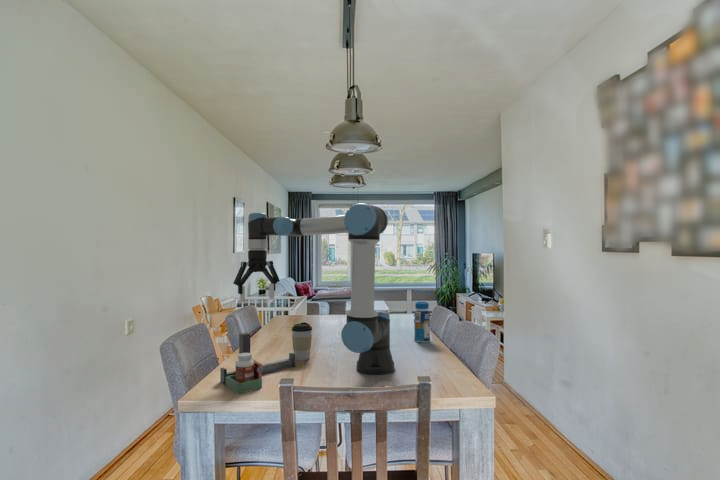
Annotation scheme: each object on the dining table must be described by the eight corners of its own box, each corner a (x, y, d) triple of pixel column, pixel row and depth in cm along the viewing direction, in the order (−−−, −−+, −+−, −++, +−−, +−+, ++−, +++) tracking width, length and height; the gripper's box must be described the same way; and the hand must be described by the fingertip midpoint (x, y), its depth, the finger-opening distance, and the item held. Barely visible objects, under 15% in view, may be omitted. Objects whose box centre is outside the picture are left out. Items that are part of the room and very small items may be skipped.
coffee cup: (308, 361, 166) (308, 326, 166) (288, 360, 168) (288, 325, 168) (314, 355, 175) (314, 322, 175) (295, 354, 176) (295, 321, 177)
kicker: (267, 382, 139) (267, 337, 139) (252, 386, 135) (252, 340, 135) (250, 373, 149) (250, 332, 149) (235, 376, 145) (235, 334, 145)
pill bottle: (246, 390, 132) (246, 357, 133) (231, 387, 135) (231, 355, 135) (257, 384, 138) (257, 352, 138) (243, 382, 140) (243, 351, 141)
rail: (295, 366, 159) (295, 354, 159) (223, 384, 139) (223, 369, 139) (291, 364, 161) (291, 352, 161) (220, 381, 141) (220, 368, 141)
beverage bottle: (412, 339, 205) (412, 301, 205) (427, 338, 206) (427, 301, 206) (416, 343, 196) (416, 303, 197) (432, 342, 197) (432, 303, 198)
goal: (261, 387, 135) (261, 378, 135) (238, 393, 129) (238, 384, 129) (247, 379, 143) (247, 371, 143) (224, 385, 137) (225, 376, 137)
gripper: (278, 249, 175) (278, 296, 174) (225, 250, 157) (224, 302, 157) (287, 249, 169) (287, 298, 169) (233, 250, 152) (233, 304, 152)
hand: (257, 300), depth 163 cm, fingers open, 13 cm apart
